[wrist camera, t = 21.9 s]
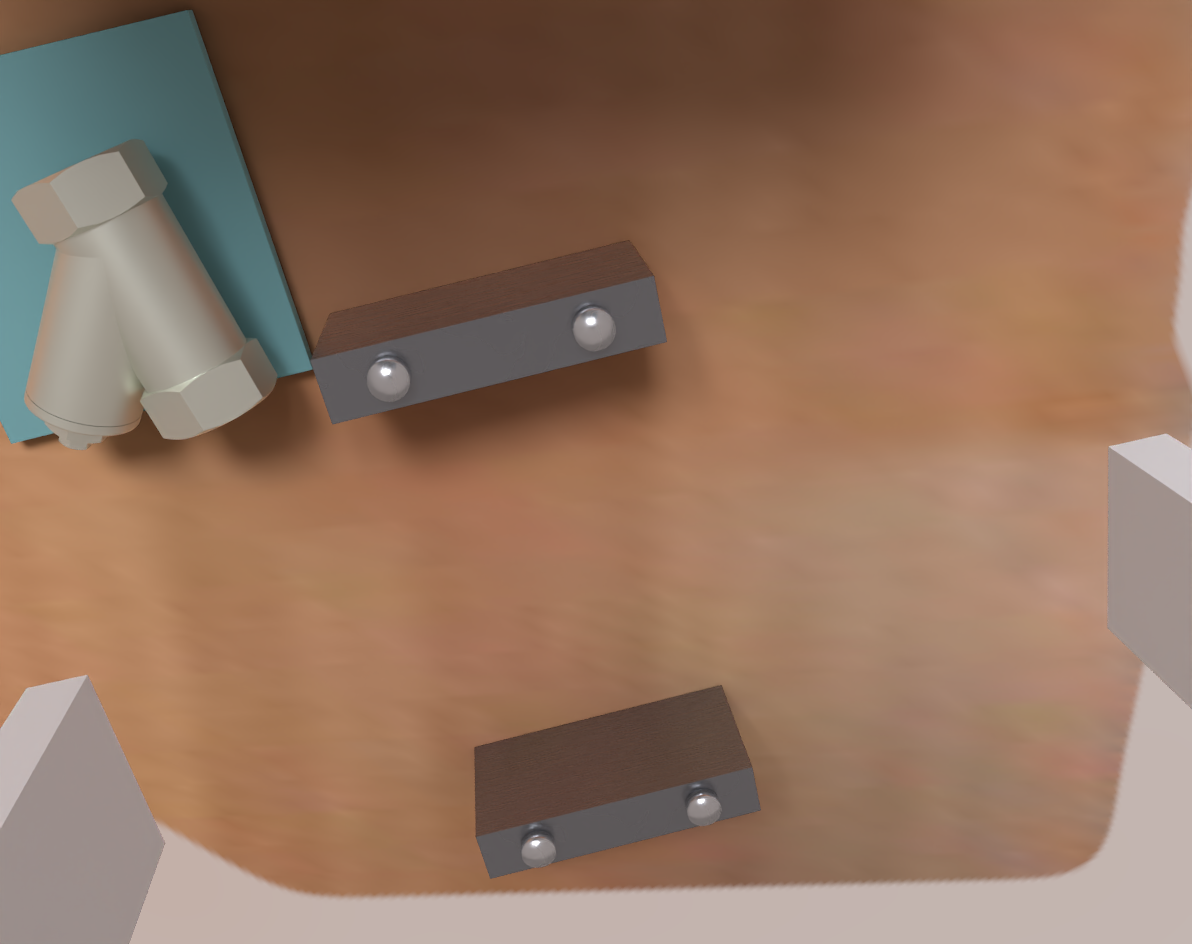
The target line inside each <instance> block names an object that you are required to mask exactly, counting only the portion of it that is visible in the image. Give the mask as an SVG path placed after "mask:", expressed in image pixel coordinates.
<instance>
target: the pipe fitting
mask: <svg viewBox="0 0 1192 944" xmlns="http://www.w3.org/2000/svg"><path fill="white" fill-rule="evenodd" d="M167 184H168V183H167V181H166V179H165V178H164V176H163V174H162V172H161V171H160V169H159V167H158V165H157V164H156V162H155V160H154V158H153V157H152V155H151V153H150V151H149V150H148V148H147V146H146V144H145V143H144V141H143V140H139V139H131V140H128V141H126V142H124V143H121V144H119V145H117V146H115V147H112V148H110V149H108V150H106V151H103V152H101V153H99V154H97V155H94V156H92V157H90V158H88V159H85V160H83V161H81V162H79V163H77V164H74V165H72V166H70V167H68V168H66V169H63V170H61V171H59V172H57V173H54V174H52V175H50V176H48V177H46V178H44V179H41V180H39V181H37V182H35V183H33V184H30V185H28V186H26V187H24V188H22V189H20V190H18V191H17V192H16V193H15V195H14V196H13V198H12V199H11V201H12V202H13V204H14V206H15V207H16V209H17V210H18V212H19V213H20V215H21V217H22V218H23V220H24V221H25V223H26V224H27V226H28V227H29V229H30V231H31V232H32V234H33V235H34V237H35V238H36V240H37V242H38V243H39V244H50V245H52V244H53V245H54V246H55V248H56V252H55V256H54V261H53V266H52V270H51V275H50V280H49V284H48V289H47V294H46V299H45V303H44V308H43V312H42V317H41V322H40V326H39V331H38V335H37V340H36V344H35V349H34V354H33V358H32V363H31V367H30V372H29V376H28V381H27V385H26V389H25V394H24V401H25V404H26V406H27V407H28V409H29V410H30V411H31V412H32V413H33V414H34V415H35V416H37V417H38V418H40V419H41V420H43V421H44V422H45V423H44V424H45V425H46V426H47V427H48V428H49V429H50V430H51V431H52V432H53V433H55V434H56V435H58V436H59V441H60V442H61V443H62V444H63V445H64V446H66V447H68V448H71V449H75V450H86V449H88V448H89V447H90V446H91V444H92V443H101V442H103V441H104V440H105V439H106V438H107V437H108V436H115V435H120V434H124V433H127V432H130V431H132V430H133V429H135V428H136V427H137V426H138V425H139V423H140V420H141V417H142V413H143V409H145V410H146V412H147V413H148V415H149V416H150V418H151V420H152V421H153V423H154V424H155V426H156V427H157V429H158V431H159V432H160V434H161V435H162V437H163V438H164V439H173V440H182V439H188V438H192V437H195V436H198V435H201V434H204V433H207V432H209V431H211V430H214V429H216V428H218V427H220V426H222V425H224V424H226V423H228V422H230V421H232V420H234V419H236V418H237V417H239V416H241V415H243V414H244V413H246V412H247V411H249V410H250V409H252V408H253V407H255V406H256V405H258V404H259V403H260V402H261V401H263V400H264V399H265V398H266V397H267V396H268V395H269V394H270V393H271V392H272V390H273V389H274V386H275V384H276V380H277V373H276V371H275V370H274V368H273V366H272V364H271V363H270V361H269V359H268V357H267V356H266V354H265V352H264V350H263V349H262V347H261V345H260V343H259V342H258V340H257V338H245V336H244V335H243V333H242V331H241V329H240V328H239V326H238V324H237V322H236V321H235V319H234V317H233V316H232V314H231V312H230V310H229V309H228V307H227V305H226V303H225V302H224V300H223V298H222V297H221V295H220V293H219V291H218V290H217V288H216V286H215V284H214V283H213V281H212V279H211V278H210V276H209V274H208V272H207V271H206V269H205V267H204V265H203V264H202V262H201V260H200V258H199V257H198V255H197V253H196V252H195V250H194V248H193V246H192V245H191V243H190V241H189V239H188V238H187V236H186V234H185V232H184V231H183V229H182V227H181V225H180V224H179V222H178V220H177V219H176V217H175V215H174V213H173V212H172V210H171V208H170V206H169V205H168V203H167V201H166V199H165V198H164V196H163V194H162V193H163V191H164V190H165V188H166V186H167Z"/></svg>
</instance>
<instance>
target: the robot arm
mask: <svg viewBox="0 0 1192 944" xmlns="http://www.w3.org/2000/svg"><path fill="white" fill-rule="evenodd" d="M1108 629H1109V630H1110V631H1111V632H1112V633H1113V634H1114V635H1115V636H1116V637H1117V638H1118V639H1119V640H1121V641H1122V642H1123V643H1124V644H1125V645H1126V646H1127V647H1128V648H1129V649H1130V650H1131V651H1132V652H1133V653H1134V654H1135V655H1136V656H1137V657H1138V658H1139V659H1140V660H1141V661H1142V662H1143V663H1144V664H1145V665H1146V666H1147V667H1149V668H1150V669H1151V670H1152V671H1153V672H1154V673H1155V674H1156V675H1157V676H1158V677H1159V678H1160V679H1161V680H1162V681H1163V682H1164V683H1165V684H1166V685H1167V686H1168V687H1169V688H1170V689H1171V690H1172V691H1173V692H1175V693H1176V694H1177V695H1178V696H1179V697H1180V698H1181V699H1182V700H1183V701H1184V702H1185V703H1186V704H1187V705H1188V706H1189V707H1190V708H1191V709H1192V449H1191V448H1189V447H1188V446H1186V445H1184V444H1183V443H1181V442H1180V441H1178V440H1176V439H1175V438H1173V437H1171V436H1170V435H1168V434H1162V435H1158V436H1153V437H1149V438H1144V439H1140V440H1136V441H1131V442H1127V443H1122V444H1118V445H1113V446H1109V447H1108ZM164 845H165V842H164V840H163V837H162V835H161V833H160V831H159V829H158V826H157V824H156V822H155V820H154V818H153V816H152V813H151V811H150V809H149V807H148V805H147V803H146V800H145V798H144V796H143V794H142V792H141V789H140V787H139V785H138V783H137V781H136V779H135V776H134V774H133V772H132V770H131V768H130V766H129V763H128V761H127V759H126V757H125V755H124V753H123V750H122V748H121V746H120V744H119V742H118V740H117V737H116V735H115V733H114V731H113V729H112V727H111V724H110V722H109V720H108V718H107V716H106V714H105V711H104V709H103V707H102V705H101V703H100V701H99V698H98V696H97V694H96V692H95V690H94V688H93V685H92V683H91V681H90V679H89V677H88V675H84V676H80V677H75V678H71V679H66V680H62V681H57V682H53V683H48V684H44V685H39V686H35V687H30V688H26V690H25V691H24V693H23V694H22V696H21V698H20V699H19V701H18V702H17V704H16V705H15V707H14V708H13V710H12V712H11V713H10V715H9V716H8V718H7V719H6V721H5V722H4V724H3V726H2V727H1V729H0V944H129V942H130V940H131V937H132V934H133V931H134V928H135V926H136V923H137V920H138V917H139V914H140V912H141V909H142V906H143V903H144V900H145V898H146V895H147V892H148V889H149V886H150V884H151V881H152V878H153V875H154V873H155V870H156V867H157V864H158V861H159V859H160V856H161V853H162V850H163V847H164Z"/></svg>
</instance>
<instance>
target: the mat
mask: <svg viewBox="0 0 1192 944" xmlns="http://www.w3.org/2000/svg"><path fill="white" fill-rule="evenodd" d="M131 139H139V140H143V141H144V143H145V144H146V146H147V148H148V150H149V151H150V153H151V155H152V157H153V158H154V160H155V162H156V164H157V165H158V167H159V169H160V171H161V172H162V174H163V176H164V178H165V179H166V181H167V183H168V184H167V186H166V188H165V190H164V191H163V193H162V194H163V196H164V198H165V199H166V201H167V203H168V205H169V206H170V208H171V210H172V212H173V213H174V215H175V217H176V219H177V220H178V222H179V224H180V225H181V227H182V229H183V231H184V232H185V234H186V236H187V238H188V239H189V241H190V243H191V245H192V246H193V248H194V250H195V252H196V253H197V255H198V257H199V258H200V260H201V262H202V264H203V265H204V267H205V269H206V271H207V272H208V274H209V276H210V278H211V279H212V281H213V283H214V284H215V286H216V288H217V290H218V291H219V293H220V295H221V297H222V298H223V300H224V302H225V303H226V305H227V307H228V309H229V310H230V312H231V314H232V316H233V317H234V319H235V321H236V322H237V324H238V326H239V328H240V329H241V331H242V333H243V335H244V336H245V338H257V340H258V342H259V343H260V345H261V347H262V349H263V350H264V352H265V354H266V356H267V357H268V359H269V361H270V363H271V364H272V366H273V368H274V370H275V371H276V373H277V378H280V377H284V376H288V375H292V374H297V373H301V372H305V371H309V370H313V367H312V364H311V361H310V359H311V357H312V354H311V351H310V348H309V346H308V343H307V340H306V337H305V334H304V331H303V328H302V325H301V322H300V320H299V317H298V314H297V311H296V308H295V305H294V302H293V299H292V296H291V294H290V291H289V288H288V285H287V282H286V279H285V276H284V273H283V270H282V268H281V265H280V262H279V259H278V256H277V253H276V250H275V247H274V245H273V242H272V239H271V236H270V233H269V230H268V227H267V224H266V221H265V219H264V216H263V213H262V210H261V207H260V204H259V201H258V198H257V195H256V193H255V190H254V187H253V184H252V181H251V178H250V175H249V172H248V169H247V167H246V164H245V161H244V158H243V155H242V152H241V149H240V146H239V143H238V141H237V138H236V135H235V132H234V129H233V126H232V123H231V120H230V117H229V115H228V112H227V109H226V106H225V103H224V100H223V97H222V94H221V91H220V89H219V86H218V83H217V80H216V77H215V74H214V71H213V68H212V65H211V63H210V60H209V57H208V54H207V51H206V48H205V45H204V42H203V40H202V37H201V34H200V31H199V28H198V25H197V22H196V19H195V16H194V14H193V11H192V10H185V11H181V12H177V13H173V14H169V15H165V16H160V17H156V18H152V19H148V20H144V21H140V22H136V23H131V24H127V25H123V26H119V27H115V28H111V29H107V30H102V31H98V32H94V33H90V34H86V35H82V36H77V37H73V38H69V39H65V40H61V41H57V42H53V43H48V44H44V45H40V46H36V47H32V48H28V49H24V50H19V51H15V52H11V53H7V54H3V55H0V421H1V423H2V425H3V427H4V429H5V431H6V434H7V436H8V438H9V440H10V442H11V444H12V443H16V442H20V441H24V440H28V439H32V438H36V437H40V436H45V435H49V434H53V432H52V431H51V430H50V429H49V428H48V427H47V426H46V425H45V424H44V423H45V422H44V421H43V420H41V419H40V418H38V417H37V416H35V415H34V414H33V413H32V412H31V411H30V410H29V409H28V407H27V406H26V404H25V401H24V394H25V389H26V385H27V381H28V376H29V372H30V367H31V363H32V358H33V354H34V349H35V344H36V340H37V335H38V331H39V326H40V322H41V317H42V312H43V308H44V303H45V299H46V294H47V289H48V284H49V280H50V275H51V270H52V266H53V261H54V256H55V252H56V248H55V246H54V245H53V244H52V245H50V244H39V243H38V242H37V240H36V238H35V237H34V235H33V234H32V232H31V231H30V229H29V227H28V226H27V224H26V223H25V221H24V220H23V218H22V217H21V215H20V213H19V212H18V210H17V209H16V207H15V206H14V204H13V202H12V201H11V199H12V198H13V196H14V195H15V193H16V192H17V191H18V190H20V189H22V188H24V187H26V186H28V185H30V184H33V183H35V182H37V181H39V180H41V179H44V178H46V177H48V176H50V175H52V174H54V173H57V172H59V171H61V170H63V169H66V168H68V167H70V166H72V165H74V164H77V163H79V162H81V161H83V160H85V159H88V158H90V157H92V156H94V155H97V154H99V153H101V152H103V151H106V150H108V149H110V148H112V147H115V146H117V145H119V144H121V143H124V142H126V141H128V140H131ZM143 411H146V410H145V409H143Z"/></svg>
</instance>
